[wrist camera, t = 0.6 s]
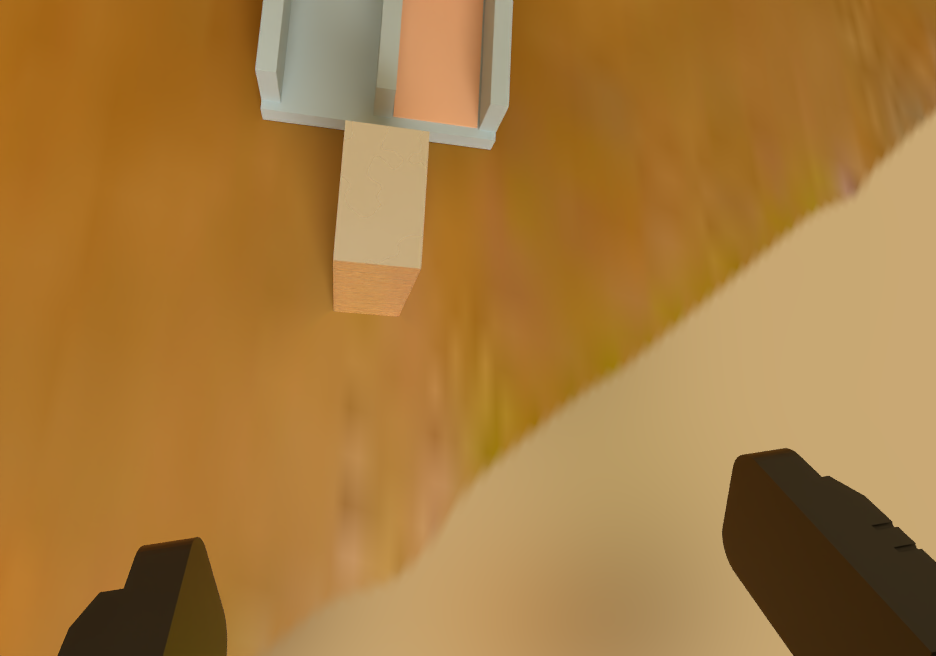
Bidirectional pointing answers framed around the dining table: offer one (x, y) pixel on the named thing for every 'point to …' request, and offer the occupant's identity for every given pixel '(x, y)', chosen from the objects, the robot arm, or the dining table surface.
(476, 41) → the slot rack
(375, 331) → the dining table surface
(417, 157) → the panel
